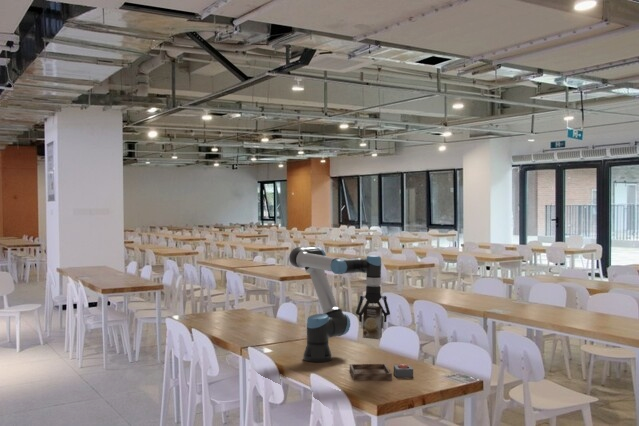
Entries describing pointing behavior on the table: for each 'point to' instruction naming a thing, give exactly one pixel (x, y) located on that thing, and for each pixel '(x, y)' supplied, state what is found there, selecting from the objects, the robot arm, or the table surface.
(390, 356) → the table surface
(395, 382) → the table surface
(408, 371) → the button housing
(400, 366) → the button
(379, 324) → the coffee box
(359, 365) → the wooden tray
